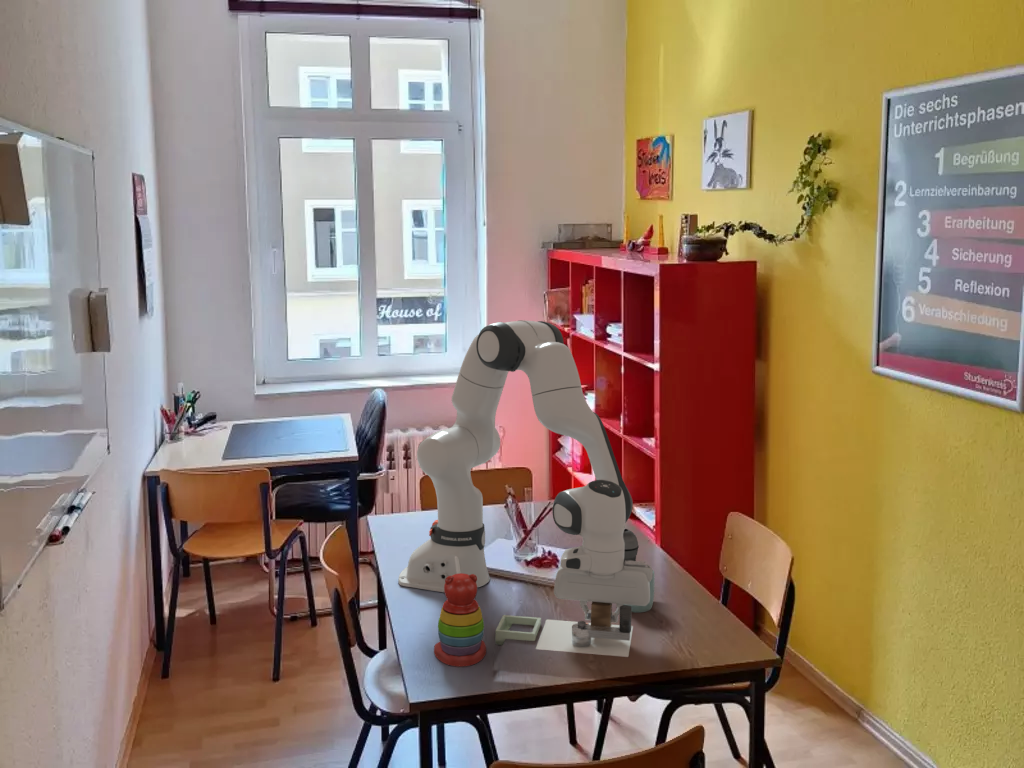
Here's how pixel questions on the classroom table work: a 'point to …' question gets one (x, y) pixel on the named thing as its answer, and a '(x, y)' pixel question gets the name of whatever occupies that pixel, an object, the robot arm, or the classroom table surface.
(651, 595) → the cup
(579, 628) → the crank
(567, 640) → the crank plate
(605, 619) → the block
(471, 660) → the stacking bear
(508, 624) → the tray
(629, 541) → the beverage cup
